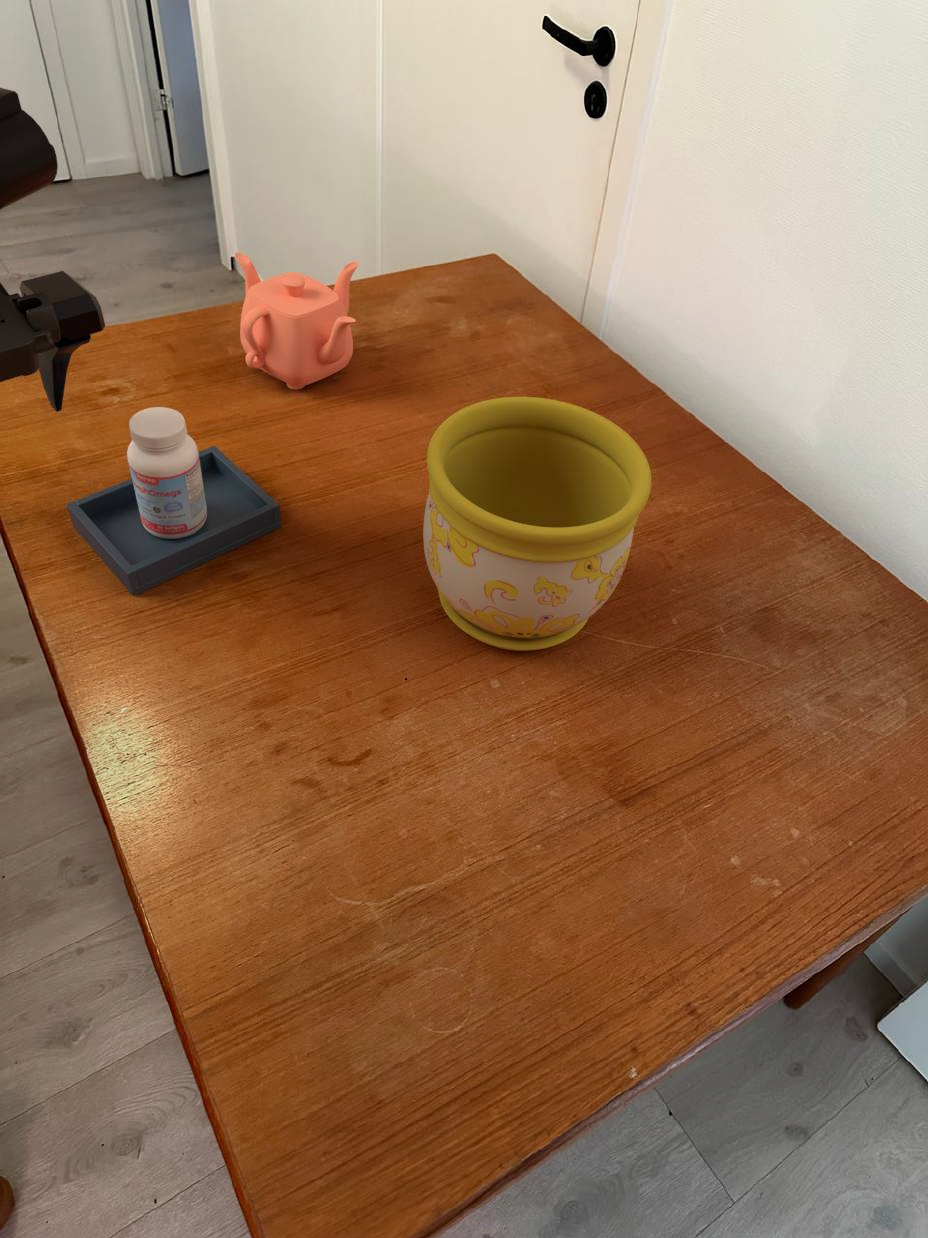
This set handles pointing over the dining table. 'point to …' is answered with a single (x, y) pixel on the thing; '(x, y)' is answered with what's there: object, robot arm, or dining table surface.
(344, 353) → the teapot
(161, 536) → the pill bottle
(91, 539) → the tray
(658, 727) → the dining table surface
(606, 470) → the flowerpot
